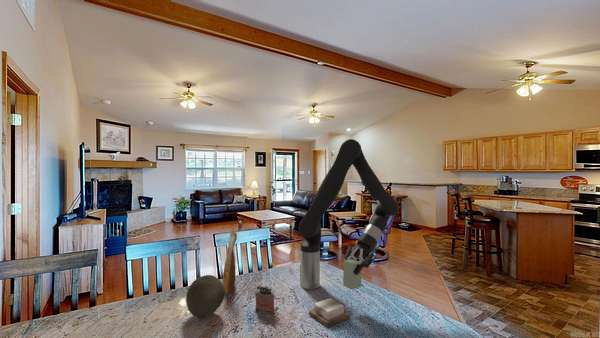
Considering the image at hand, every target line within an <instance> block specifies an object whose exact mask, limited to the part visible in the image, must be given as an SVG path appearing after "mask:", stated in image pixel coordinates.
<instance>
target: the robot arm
mask: <svg viewBox="0 0 600 338" xmlns="http://www.w3.org/2000/svg"><path fill="white" fill-rule="evenodd" d="M351 166H353V167H354V169H355V170H356V172H357V173H358V176H359V177H360V180H361V182H362V184H363V185H364V188H365V189H366V191H367V193H368V194H369V196H370V197H371V199H373V200H375V201H378V202H379V203H378V204H377V205H376V207H375V208H374V211H373V214H372V218H371V219H370V220H369V222H368V224H367V225H366V227H365V228H364V229H363V231H362V233H361V234H360V236H359V237H358V239H357V241H356V245H355V246H351V245H349V246H347V249H346V252H345V255H344V258H345V259H346V260H350V259H354V260H357V261H359V265H357V266H356V268H355V270H354V271H353V273H354V274H355V275H358V274H359V273H360V271H361V272H362V269H364V268H366V269H367V268H369V267H370V265H371V264H372V263H374V261H375V260H376V259H377V256H376V255H375V253H374V251H375V249H376V247H377V245H378V244H379V241H380V240H381V237H382V236H383V233H384V232H385V230H386V229H387V226H388V222H387V218H388V217H393V216H396V215H397V214H398V213H399V212H400V211H399V210H400V207H399V204H398V202H397V201H396V199H395V198H394V197H393V196H392V195H391V194H390V193H389V192H388V191H387V190H386V189H385V187H384V185H383V184H382V182H381V181H380V179H379V178H378V177H377V174H376V173H375V172H374V170H373V169H372V167H371V165H370V164H369V163H368V161H367V159H366V157H365V155H364V152H363V150H362V146H361V143H360V142H359V141H358V140H356V139H352V138H349V139H346V140H344V141H343V142H342V143H341V145H340V147H339V150H338V152H337V155H336V158H335V160H334V162H333V164H332V166H331V167H330V169H329V170H328V171H327V173H326V175H325V176H324V178H323V180H322V182H321V184H320V185H319V188H318V189H317V191H316V194H315V195H314V197H313V199H312V202H311V203H310V207H309V208H308V210H307V211H306V213H305V215H304V216H303V217H302V219H301V220H300V222H299V223H298V232H299V235H300V236H301V237H302V242H301V243H300V264H299V285H300V286H301V288H303V289H306V290H315V289H319V288H320V287H321V257H320V255H321V248H320V247H321V244H322V224H321V220H322V218H323V217H324V215H325V213H326V212H327V211H328V209H330V207H331V206H332V205H333V203H334V202H335V200H336V199H337V197H338V195H339V194H340V192H341V189H342V188H343V185H344V183H345V180H346V176H347V175H348V172H349V170H350V169H351ZM358 259H359V260H358Z"/></svg>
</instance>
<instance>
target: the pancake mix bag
mask: <svg viewBox="0 0 600 338" xmlns="http://www.w3.org/2000/svg"><path fill="white" fill-rule="evenodd" d="M237 238H238V236H237V233H236V231H235V229H234V227H233V226H232V225H231V226H230V233H229V240H228V247H227V249H226V255H225V256H226V257H225V259H224V260H225V262H224V268H223V272H222V284H223V286H224V289H225V294H226V295H229V294H231V293H233V292H234V289H235V285H236V257H235V252H234V250H235V249H234V248H235V244H236V242H237Z"/></svg>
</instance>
